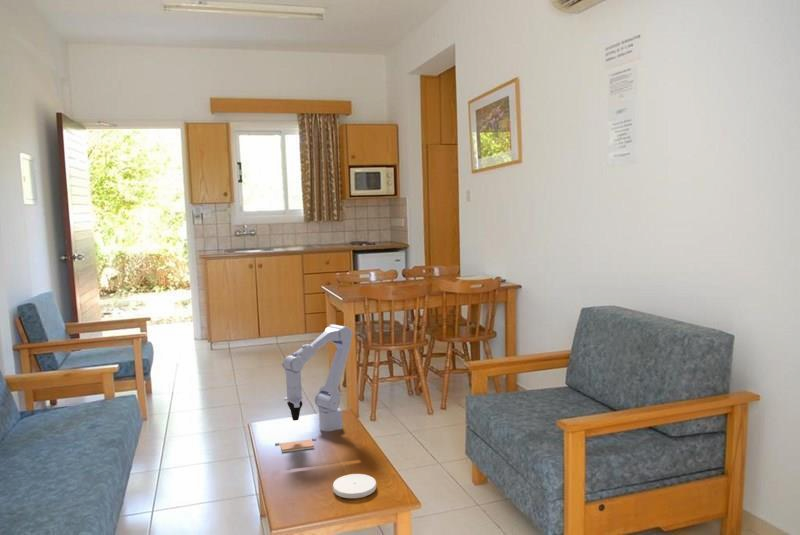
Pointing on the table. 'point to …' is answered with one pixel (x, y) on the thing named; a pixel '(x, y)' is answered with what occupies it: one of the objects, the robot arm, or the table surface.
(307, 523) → the table surface
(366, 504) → the table surface
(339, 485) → the plastic lid
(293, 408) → the robot arm
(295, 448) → the flap
